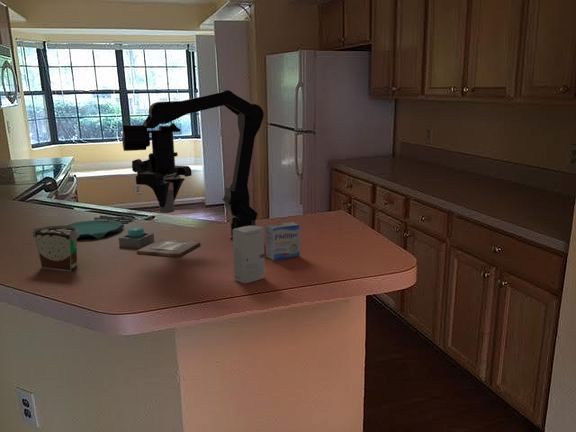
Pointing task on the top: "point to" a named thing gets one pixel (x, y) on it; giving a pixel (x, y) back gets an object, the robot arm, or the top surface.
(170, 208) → the pink and grey capsule
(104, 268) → the top surface
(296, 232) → the medicine box
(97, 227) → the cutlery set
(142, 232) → the button
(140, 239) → the button housing
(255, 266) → the skincare box
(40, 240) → the food container
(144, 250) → the drawing board
